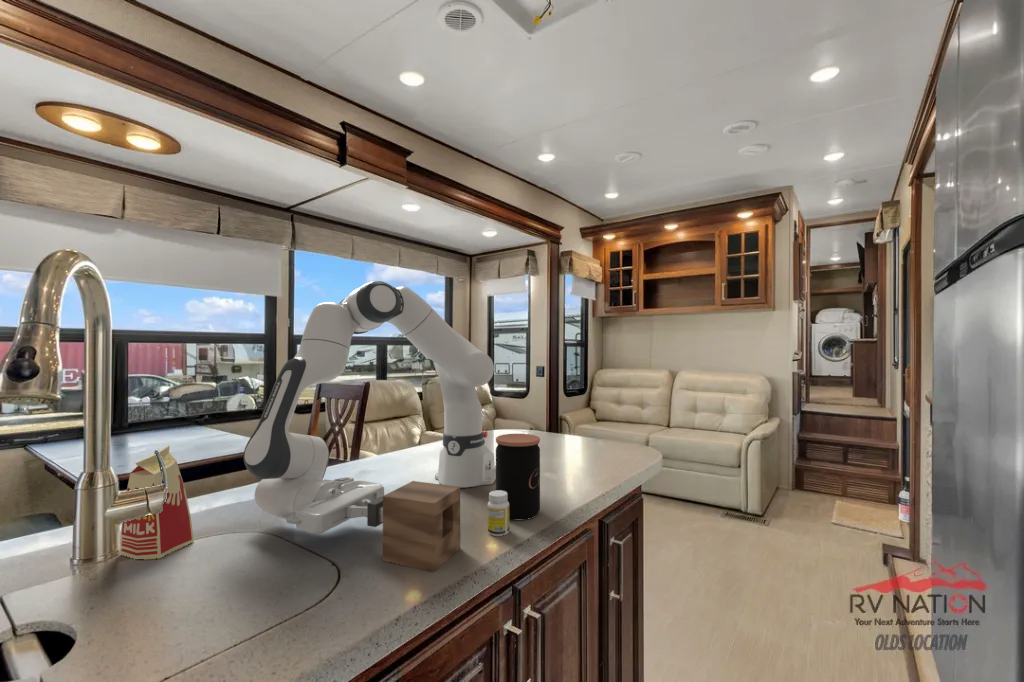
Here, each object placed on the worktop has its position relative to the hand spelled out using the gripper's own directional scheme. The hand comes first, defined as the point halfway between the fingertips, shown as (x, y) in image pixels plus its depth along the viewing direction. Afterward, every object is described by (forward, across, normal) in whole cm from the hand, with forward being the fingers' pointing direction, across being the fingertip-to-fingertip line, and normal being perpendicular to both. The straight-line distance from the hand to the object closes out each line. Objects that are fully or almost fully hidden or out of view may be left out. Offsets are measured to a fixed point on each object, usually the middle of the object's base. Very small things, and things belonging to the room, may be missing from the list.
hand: (374, 510), depth 92 cm
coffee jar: (+21, +27, +7) cm, 35 cm away
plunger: (+6, 0, +2) cm, 6 cm away
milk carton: (-39, -17, +7) cm, 43 cm away
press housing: (+11, 0, +7) cm, 13 cm away
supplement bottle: (+21, +15, +7) cm, 27 cm away
